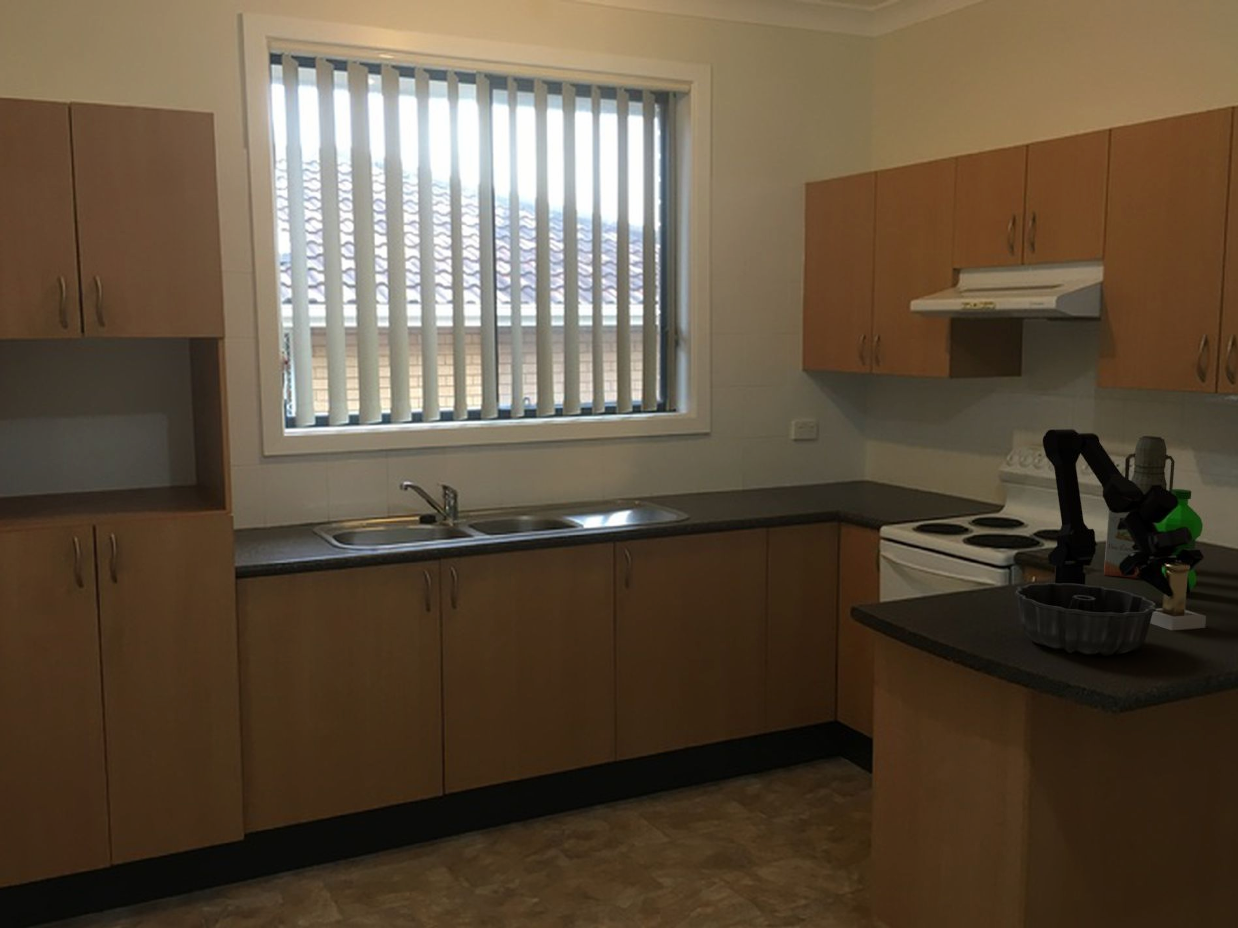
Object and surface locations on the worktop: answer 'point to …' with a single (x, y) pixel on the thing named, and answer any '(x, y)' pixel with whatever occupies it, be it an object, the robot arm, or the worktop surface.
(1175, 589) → the gold cylinder
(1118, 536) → the cracker box
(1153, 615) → the frame
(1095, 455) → the robot arm
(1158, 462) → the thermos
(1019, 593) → the bundt pan
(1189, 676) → the worktop surface
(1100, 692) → the worktop surface
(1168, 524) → the plastic bottle
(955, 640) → the worktop surface
